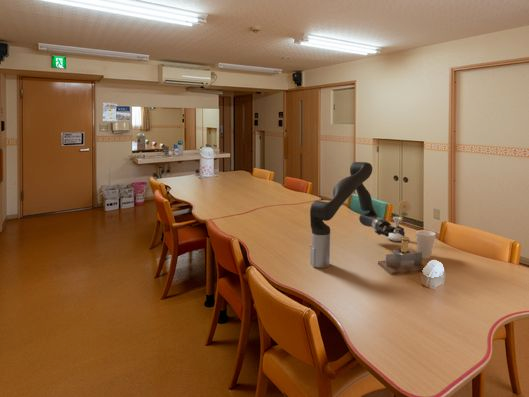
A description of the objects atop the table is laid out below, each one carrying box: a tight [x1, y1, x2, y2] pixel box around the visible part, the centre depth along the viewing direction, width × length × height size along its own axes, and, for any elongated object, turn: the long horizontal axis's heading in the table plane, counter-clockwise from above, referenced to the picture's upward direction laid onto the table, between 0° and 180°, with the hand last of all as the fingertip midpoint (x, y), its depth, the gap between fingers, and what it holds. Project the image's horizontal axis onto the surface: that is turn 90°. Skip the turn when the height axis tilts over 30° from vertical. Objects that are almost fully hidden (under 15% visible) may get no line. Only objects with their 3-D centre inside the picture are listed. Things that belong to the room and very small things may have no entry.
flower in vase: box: [386, 199, 412, 242], centre depth 221 cm, size 13×11×25 cm
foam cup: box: [415, 229, 437, 259], centre depth 195 cm, size 10×9×13 cm
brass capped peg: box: [400, 236, 410, 253], centre depth 180 cm, size 4×4×14 cm
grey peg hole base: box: [377, 260, 426, 276], centre depth 182 cm, size 20×14×2 cm
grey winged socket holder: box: [384, 248, 423, 268], centre depth 181 cm, size 19×7×7 cm, turn 99°
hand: (395, 234), depth 187 cm, fingers open, 8 cm apart
